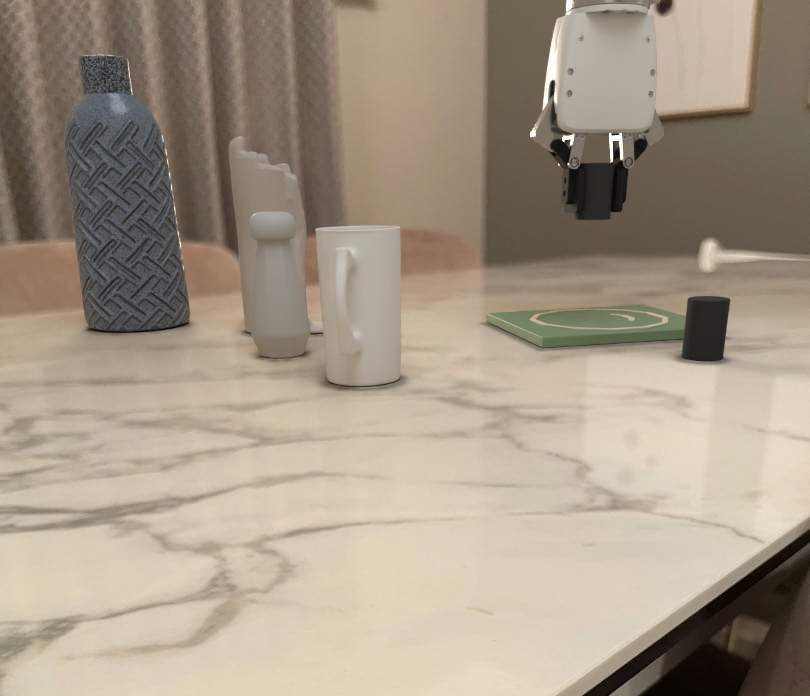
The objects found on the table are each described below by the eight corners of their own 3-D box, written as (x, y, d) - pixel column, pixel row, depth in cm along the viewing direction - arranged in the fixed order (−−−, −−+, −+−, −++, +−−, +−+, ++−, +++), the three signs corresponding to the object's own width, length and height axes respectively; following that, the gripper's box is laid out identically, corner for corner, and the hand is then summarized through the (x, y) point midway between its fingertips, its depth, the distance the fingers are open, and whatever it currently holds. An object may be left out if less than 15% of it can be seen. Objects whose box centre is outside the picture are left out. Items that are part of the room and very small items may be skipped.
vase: (136, 336, 94) (95, 46, 83) (64, 328, 100) (18, 57, 89) (212, 320, 104) (184, 58, 93) (142, 315, 110) (109, 68, 99)
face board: (642, 313, 103) (643, 303, 103) (725, 336, 87) (727, 325, 86) (486, 321, 99) (486, 311, 99) (542, 347, 83) (542, 336, 83)
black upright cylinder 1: (601, 218, 88) (604, 163, 86) (616, 219, 84) (621, 162, 82) (568, 219, 87) (571, 163, 85) (582, 220, 84) (586, 162, 82)
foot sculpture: (363, 332, 93) (356, 132, 86) (239, 335, 94) (220, 135, 86) (368, 322, 100) (361, 135, 92) (251, 324, 100) (235, 138, 93)
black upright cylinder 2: (709, 352, 79) (716, 295, 77) (731, 359, 76) (738, 299, 74) (674, 354, 78) (680, 297, 76) (694, 361, 75) (701, 301, 73)
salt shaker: (324, 351, 83) (316, 210, 78) (287, 361, 79) (276, 212, 74) (278, 347, 86) (268, 210, 81) (240, 356, 82) (226, 212, 77)
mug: (336, 369, 75) (329, 225, 71) (410, 371, 74) (407, 225, 69) (301, 395, 66) (290, 233, 62) (385, 398, 65) (380, 232, 60)
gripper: (668, 10, 83) (649, 209, 91) (508, 5, 80) (502, 213, 87) (710, -6, 77) (686, 211, 84) (537, -11, 73) (528, 215, 80)
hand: (592, 210), depth 85 cm, fingers closed on black upright cylinder 1, 3 cm apart
